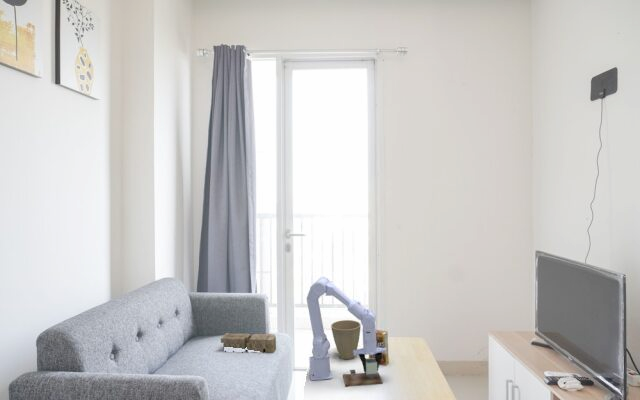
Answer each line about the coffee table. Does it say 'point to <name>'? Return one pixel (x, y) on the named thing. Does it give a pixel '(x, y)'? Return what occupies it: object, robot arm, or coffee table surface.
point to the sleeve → (371, 367)
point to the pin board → (360, 379)
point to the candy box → (382, 345)
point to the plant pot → (346, 337)
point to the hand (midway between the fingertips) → (370, 370)
